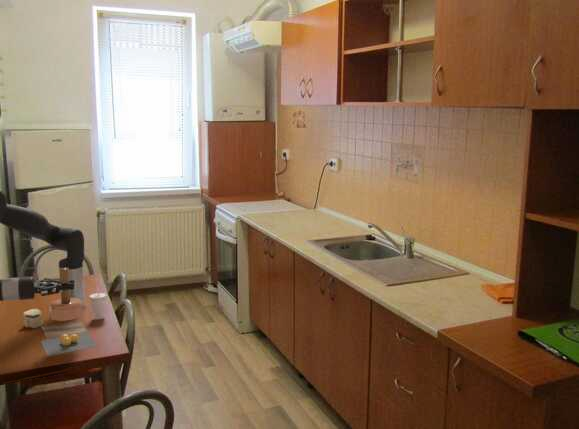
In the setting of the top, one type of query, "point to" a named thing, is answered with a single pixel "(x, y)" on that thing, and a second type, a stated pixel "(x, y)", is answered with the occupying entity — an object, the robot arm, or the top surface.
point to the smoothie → (98, 304)
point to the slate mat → (57, 347)
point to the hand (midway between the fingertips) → (73, 284)
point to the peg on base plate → (65, 302)
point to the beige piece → (33, 318)
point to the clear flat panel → (63, 329)
